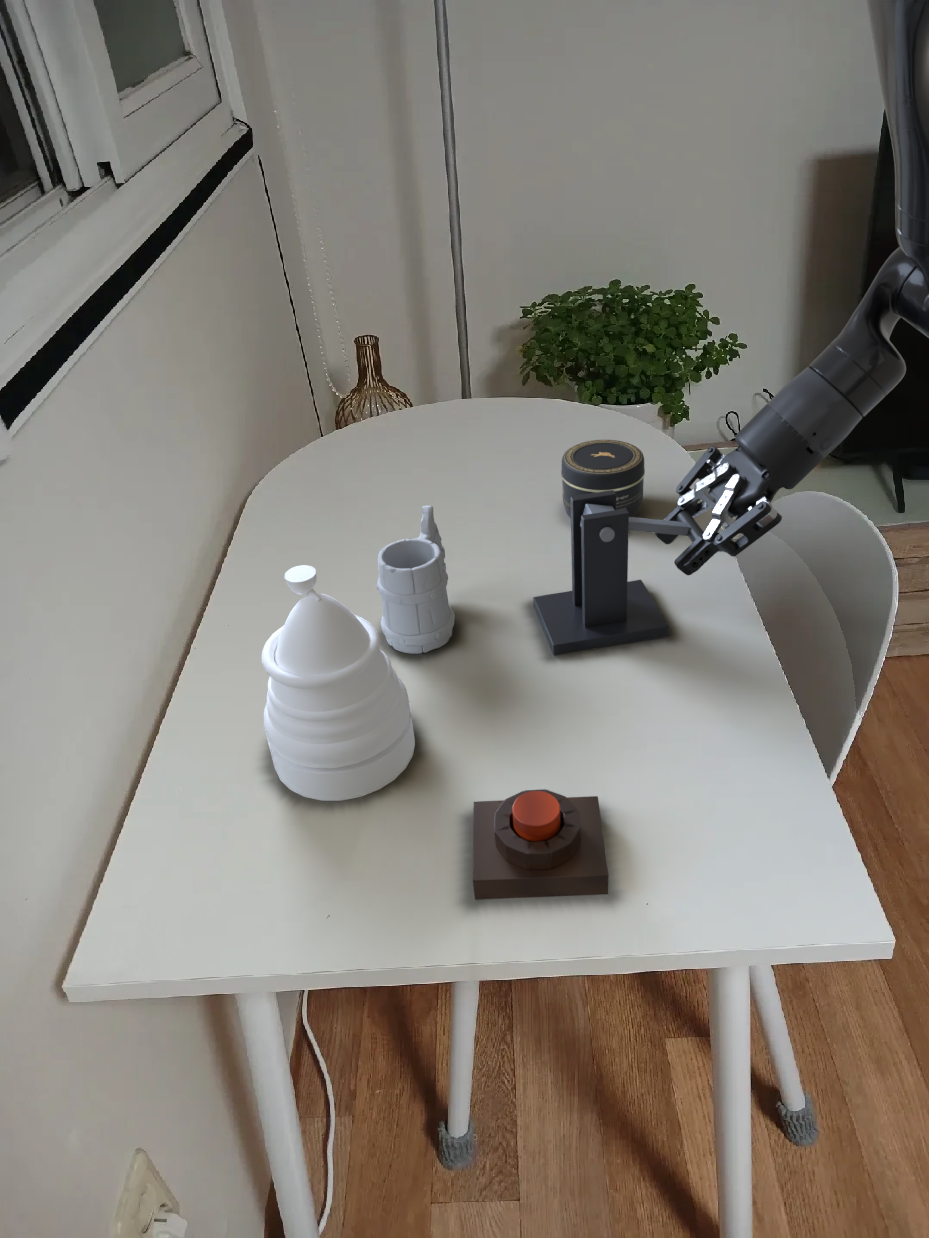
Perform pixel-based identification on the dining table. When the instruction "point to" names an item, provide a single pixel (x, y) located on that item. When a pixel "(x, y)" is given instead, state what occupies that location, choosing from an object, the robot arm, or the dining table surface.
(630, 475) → the jar
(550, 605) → the dark stand
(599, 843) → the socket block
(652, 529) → the switch lever
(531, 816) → the button
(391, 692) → the honey pot
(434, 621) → the mug
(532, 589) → the dining table surface
